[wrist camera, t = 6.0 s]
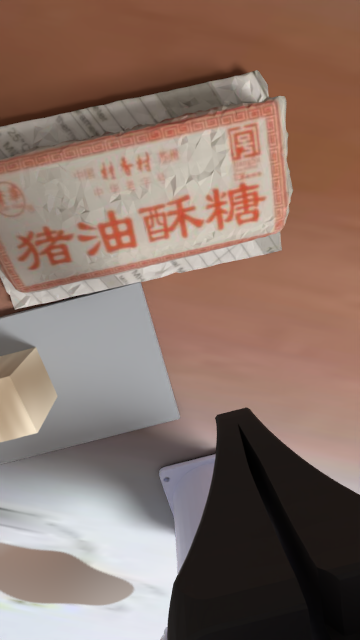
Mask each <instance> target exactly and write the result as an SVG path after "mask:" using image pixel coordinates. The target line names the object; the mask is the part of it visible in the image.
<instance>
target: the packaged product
mask: <svg viewBox="0 0 360 640" xmlns="http://www.w3.org/2000/svg"><path fill="white" fill-rule="evenodd" d="M285 116H286V99H285V96H277V97H274V98H270V97H269V96H268V85H267V83H266V82H265V80H264V79H263V77H262V76H261V74H260V73H259V72H258V70H256V71H253V72H250V73H247V74H243V75H240V76H233V77H230V78H225V79H220V80H215V81H210V82H206V83H202V84H198V85H194V86H189V87H184V88H179V89H174V90H171V91H167V92H160V93H156V94H152V95H147V96H143V97H138V98H131V99H125V100H120V101H116V102H113V103H109V104H106V105H100V106H94V107H90V108H86V109H82V110H77V111H73V112H69V113H63V114H58V115H55V116H51V117H47V118H41V119H35V120H30V121H25V122H20V123H16V124H11V125H7V126H3V127H0V277H1V279H2V282H3V284H4V286H5V289H6V291H7V293H8V294H9V295H10V297H11V300H12V303H13V306H14V310H15V309H19V308H23V307H28V306H33V305H37V304H44V303H48V302H53V301H57V300H61V299H65V298H69V297H73V296H78V295H83V294H88V293H93V292H97V291H102V290H106V289H111V288H115V287H120V286H124V285H129V284H133V283H137V282H143V281H148V280H152V279H156V278H161V277H164V276H167V275H169V274H172V273H174V272H178V273H182V272H186V271H191V270H195V269H202V268H205V267H209V266H213V265H217V264H221V263H225V262H231V261H236V260H240V259H245V258H250V257H253V256H258V255H264V254H268V253H272V252H276V251H281V250H282V248H281V239H280V231H281V230H282V228H283V227H284V225H285V223H286V219H287V216H288V213H289V203H290V201H291V200H290V197H291V194H292V192H293V189H292V184H291V179H290V174H289V173H290V170H289V169H288V165H287V160H286V158H287V139H288V133H287V131H286V126H285Z"/></svg>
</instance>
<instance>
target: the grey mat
mask: <svg viewBox="0 0 360 640" xmlns="http://www.w3.org/2000/svg"><path fill="white" fill-rule="evenodd" d="M34 347H36V348H37V351H38V353H39V355H40V357H41V360H42V362H43V364H44V366H45V369H46V371H47V373H48V375H49V378H50V380H51V382H52V384H53V387H54V389H55V391H56V393H57V398H56V400H55V402H54V404H53V406H52V407H51V409H50V411H49V413H48V415H47V417H46V418H45V420H44V422H43V424H42V426H41V428H40V430H39V431H38V433H35V434H31V435H28V436H24V437H20V438H16V439H12V440H8V441H4V442H0V465H1V464H5V463H9V462H13V461H17V460H21V459H25V458H28V457H32V456H36V455H40V454H44V453H48V452H52V451H56V450H60V449H64V448H68V447H71V446H75V445H79V444H83V443H87V442H91V441H95V440H99V439H103V438H107V437H110V436H114V435H118V434H122V433H126V432H130V431H134V430H138V429H142V428H146V427H150V426H153V425H157V424H161V423H165V422H169V421H173V420H177V419H180V414H179V411H178V407H177V404H176V400H175V397H174V394H173V390H172V387H171V383H170V380H169V377H168V373H167V370H166V366H165V363H164V360H163V356H162V353H161V349H160V346H159V343H158V339H157V336H156V332H155V329H154V326H153V322H152V319H151V316H150V312H149V309H148V305H147V302H146V299H145V295H144V292H143V288H142V285H141V282H137V283H133V284H129V285H124V286H120V287H115V288H111V289H106V290H102V291H98V292H94V293H90V294H87V295H83V296H79V297H75V298H71V299H67V300H64V301H60V302H56V303H52V304H48V305H44V306H40V307H37V308H33V309H29V310H25V311H21V312H17V313H14V314H10V315H6V316H2V317H0V356H4V355H7V354H11V353H15V352H19V351H23V350H27V349H31V348H34Z"/></svg>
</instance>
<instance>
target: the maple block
mask: <svg viewBox="0 0 360 640" xmlns="http://www.w3.org/2000/svg"><path fill="white" fill-rule="evenodd" d="M56 398H57V393H56V391H55V389H54V387H53V384H52V382H51V380H50V378H49V375H48V373H47V371H46V369H45V366H44V364H43V362H42V360H41V357H40V355H39V353H38V351H37V348H36V347H34V348H31V349H27V350H23V351H19V352H15V353H11V354H7V355H4V356H0V442H4V441H8V440H12V439H16V438H20V437H24V436H28V435H31V434H35V433H38V431H39V430H40V428H41V426H42V424H43V422H44V420H45V418H46V417H47V415H48V413H49V411H50V409H51V407H52V406H53V404H54V402H55V400H56Z"/></svg>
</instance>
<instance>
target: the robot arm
mask: <svg viewBox="0 0 360 640" xmlns="http://www.w3.org/2000/svg"><path fill="white" fill-rule="evenodd" d="M215 419H216V424H217V445H216V454H214V455H210V456H206V457H202V458H198V459H194V460H190V461H186V462H182V463H179V464H175V465H171V466H167V467H163V468H161V469H160V471H159V477H160V480H161V482H162V485H163V488H164V491H165V494H166V497H167V500H168V502H169V505H170V508H171V511H172V514H173V517H174V521H175V537H176V553H177V569H178V575H177V577H176V580H175V582H174V584H173V589H172V595H171V601H170V608H169V615H168V627H167V628H166V629H165V631H164V635H163V636H162V638H161V639H160V640H360V495H359V494H357V493H355V492H354V491H352V490H350V489H348V488H347V487H345V486H343V485H341V484H339V483H338V482H336V481H334V480H333V479H331V478H330V477H328V476H327V475H325V474H323V473H322V472H320V471H319V470H318V469H316V468H315V467H313V466H312V465H310V464H309V463H308V462H306V461H305V460H304V459H302V458H301V457H300V456H298V455H297V454H296V453H295V452H293V451H292V450H291V449H290V448H288V447H287V446H286V445H285V444H284V443H283V442H281V441H280V440H279V439H278V438H277V437H276V436H275V435H274V434H273V433H272V432H270V431H269V430H268V429H267V428H266V427H265V426H264V425H263V424H262V423H261V422H260V420H259V419H258V418H257V417H256V416H255V415H254V414H253V413H252V411H251V410H250V409H249V408H243V409H239V410H235V411H231V412H227V413H223V414H219V415H217V416H216V418H215ZM165 477H168V478H165Z"/></svg>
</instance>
